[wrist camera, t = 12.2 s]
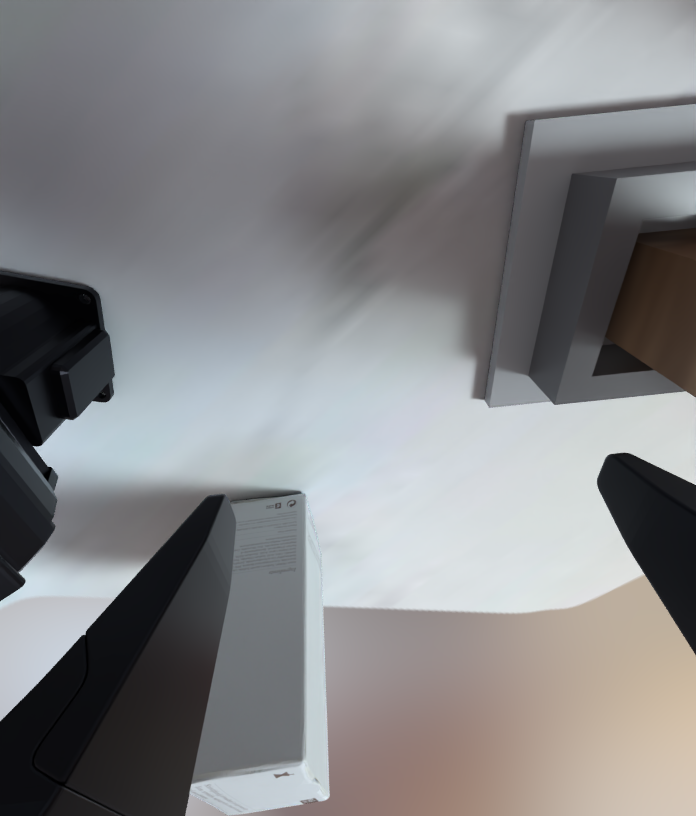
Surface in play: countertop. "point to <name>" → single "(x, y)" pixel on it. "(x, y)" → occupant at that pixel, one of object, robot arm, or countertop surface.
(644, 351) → the walnut peg
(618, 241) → the socket
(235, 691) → the skincare box
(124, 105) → the countertop surface
